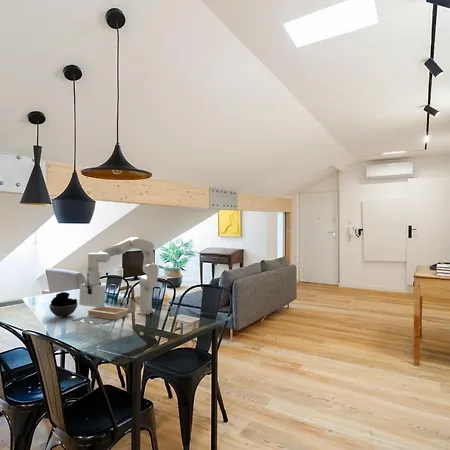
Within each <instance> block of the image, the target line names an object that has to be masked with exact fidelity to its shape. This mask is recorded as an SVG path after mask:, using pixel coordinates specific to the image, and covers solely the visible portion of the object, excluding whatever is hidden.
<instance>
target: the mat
mask: <svg viewBox="0 0 450 450" xmlns="http://www.w3.org/2000/svg"><path fill="white" fill-rule="evenodd" d="M82 319H84V321H85V322H88V323H87V324H89V322H90V321H92V322H93V323H94V324H93V325H96V324H103V325H106V324H108V323H111V322H112V320H111V319H108V320H107V319H104V318H97V317H90V316H81V317H79V318H75V319H72V322H76V321H80V320H82ZM105 323H106V324H105Z"/></svg>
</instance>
